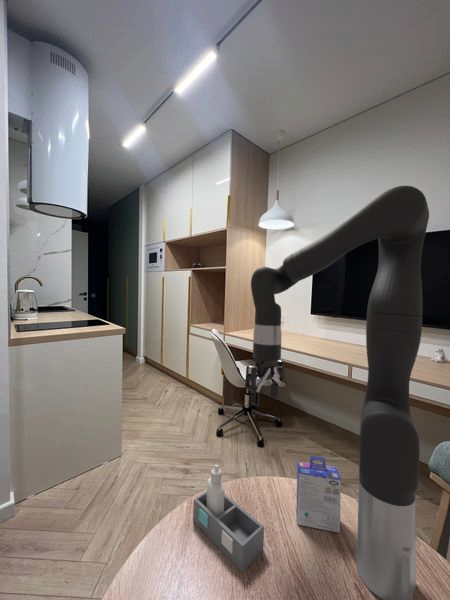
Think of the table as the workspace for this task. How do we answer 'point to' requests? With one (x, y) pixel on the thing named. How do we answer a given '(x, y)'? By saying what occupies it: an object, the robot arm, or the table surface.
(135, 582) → the table surface
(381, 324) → the robot arm
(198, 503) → the block
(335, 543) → the table surface
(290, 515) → the table surface
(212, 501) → the eye dropper bottle
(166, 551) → the table surface
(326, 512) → the ink cartridge box
